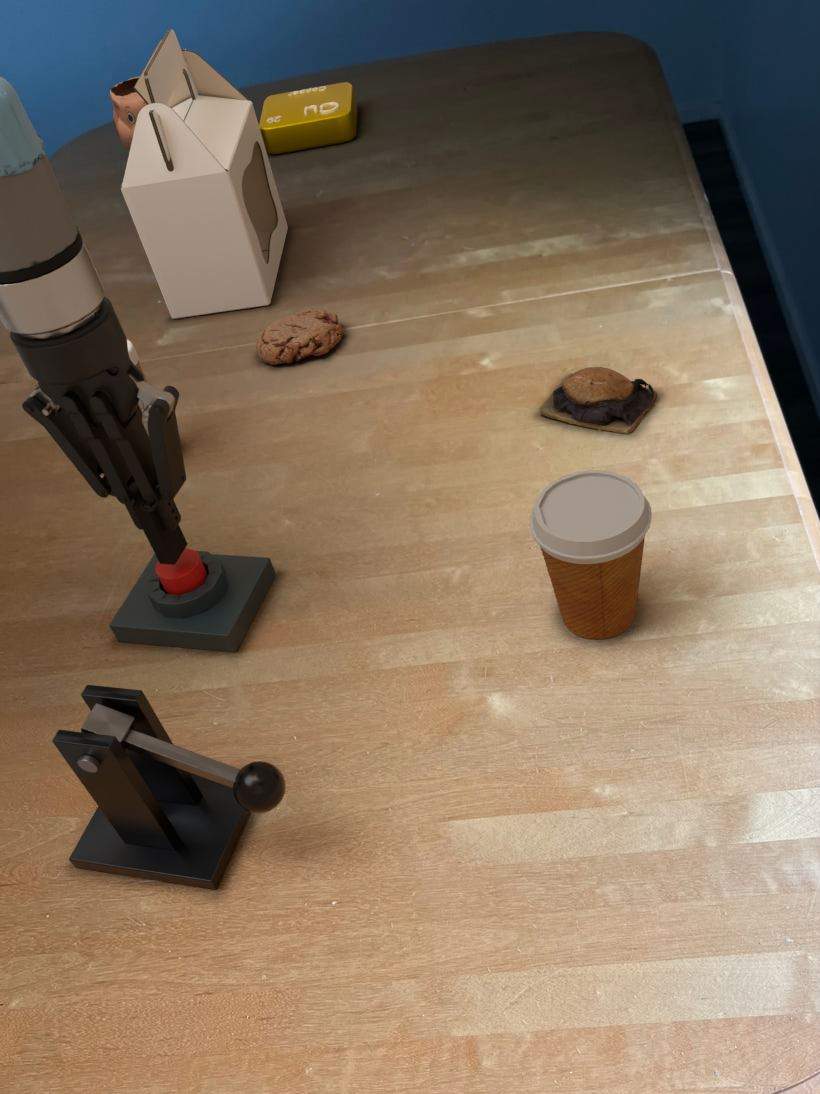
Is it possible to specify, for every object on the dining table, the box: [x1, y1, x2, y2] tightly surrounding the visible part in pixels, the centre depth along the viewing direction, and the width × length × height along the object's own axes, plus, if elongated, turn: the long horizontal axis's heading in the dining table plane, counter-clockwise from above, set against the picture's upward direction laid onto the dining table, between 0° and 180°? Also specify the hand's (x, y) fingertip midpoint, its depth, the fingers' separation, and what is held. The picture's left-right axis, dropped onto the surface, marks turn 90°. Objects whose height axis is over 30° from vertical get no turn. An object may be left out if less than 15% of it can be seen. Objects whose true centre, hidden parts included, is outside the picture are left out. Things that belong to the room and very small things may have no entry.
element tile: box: [258, 81, 358, 156], centre depth 173 cm, size 15×15×5 cm
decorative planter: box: [109, 75, 147, 151], centre depth 167 cm, size 20×12×14 cm, turn 12°
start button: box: [156, 547, 207, 595], centre depth 95 cm, size 4×4×2 cm
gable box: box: [120, 28, 289, 320], centre depth 134 cm, size 22×13×28 cm, turn 1°
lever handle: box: [80, 703, 287, 814], centre depth 73 cm, size 14×4×4 cm, turn 76°
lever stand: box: [51, 684, 252, 890], centre depth 76 cm, size 12×9×14 cm
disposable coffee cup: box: [528, 469, 653, 640], centre depth 86 cm, size 10×10×12 cm
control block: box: [108, 550, 277, 653], centre depth 97 cm, size 12×10×4 cm
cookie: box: [256, 308, 344, 366], centre depth 127 cm, size 10×11×3 cm
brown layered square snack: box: [538, 366, 658, 435], centre depth 109 cm, size 11×8×4 cm
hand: (173, 553), depth 93 cm, fingers closed
